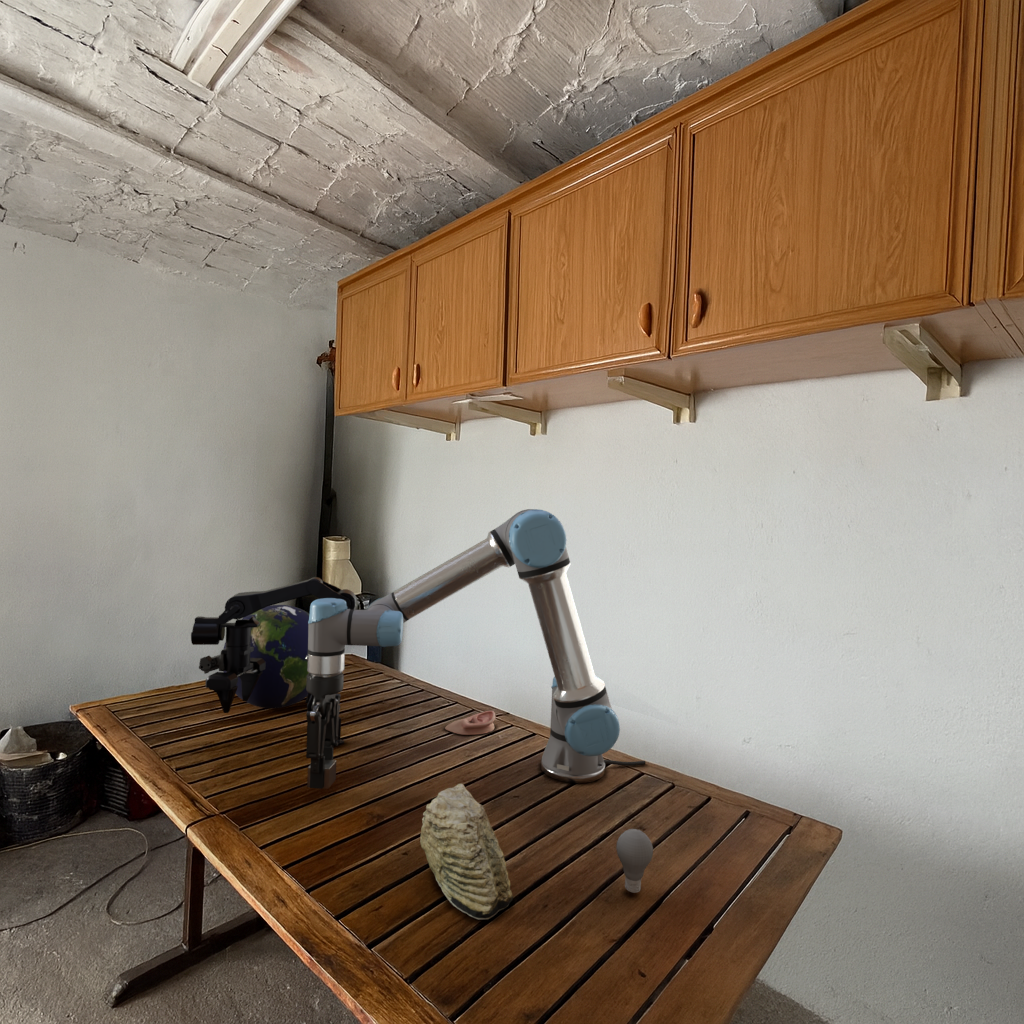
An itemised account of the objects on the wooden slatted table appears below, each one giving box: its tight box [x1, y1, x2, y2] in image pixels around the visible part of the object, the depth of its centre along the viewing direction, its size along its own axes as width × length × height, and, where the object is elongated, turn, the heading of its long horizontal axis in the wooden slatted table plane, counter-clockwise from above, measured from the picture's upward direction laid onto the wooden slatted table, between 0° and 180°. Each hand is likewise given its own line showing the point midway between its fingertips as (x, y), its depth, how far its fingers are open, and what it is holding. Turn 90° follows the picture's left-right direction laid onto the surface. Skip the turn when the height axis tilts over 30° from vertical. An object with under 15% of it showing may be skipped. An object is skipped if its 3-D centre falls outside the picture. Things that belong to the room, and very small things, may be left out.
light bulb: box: [615, 828, 654, 894], centre depth 106 cm, size 6×6×10 cm
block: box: [306, 759, 337, 790], centre depth 134 cm, size 4×5×4 cm
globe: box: [222, 604, 310, 709], centre depth 188 cm, size 30×30×30 cm
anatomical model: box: [444, 710, 496, 736], centre depth 177 cm, size 13×4×12 cm
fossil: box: [419, 783, 514, 921], centre depth 104 cm, size 9×18×15 cm, turn 45°
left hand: (235, 706), depth 158 cm, fingers open, 9 cm apart
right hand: (321, 781), depth 134 cm, fingers closed on block, 4 cm apart
